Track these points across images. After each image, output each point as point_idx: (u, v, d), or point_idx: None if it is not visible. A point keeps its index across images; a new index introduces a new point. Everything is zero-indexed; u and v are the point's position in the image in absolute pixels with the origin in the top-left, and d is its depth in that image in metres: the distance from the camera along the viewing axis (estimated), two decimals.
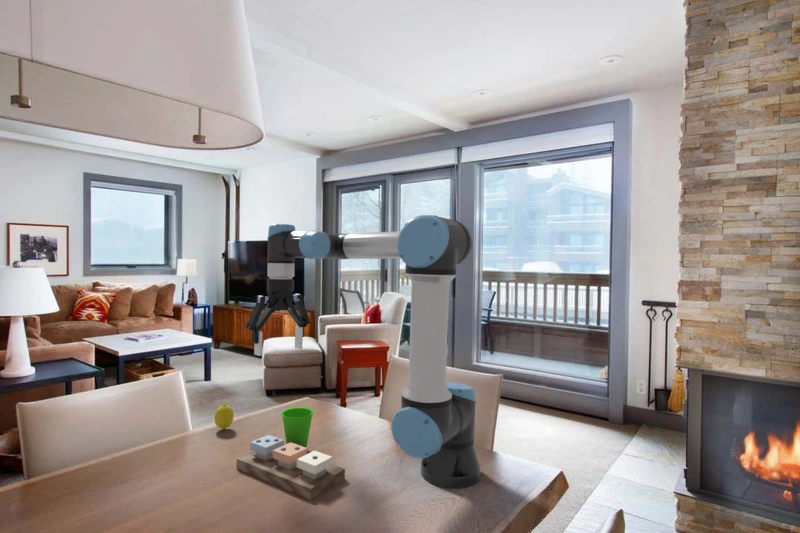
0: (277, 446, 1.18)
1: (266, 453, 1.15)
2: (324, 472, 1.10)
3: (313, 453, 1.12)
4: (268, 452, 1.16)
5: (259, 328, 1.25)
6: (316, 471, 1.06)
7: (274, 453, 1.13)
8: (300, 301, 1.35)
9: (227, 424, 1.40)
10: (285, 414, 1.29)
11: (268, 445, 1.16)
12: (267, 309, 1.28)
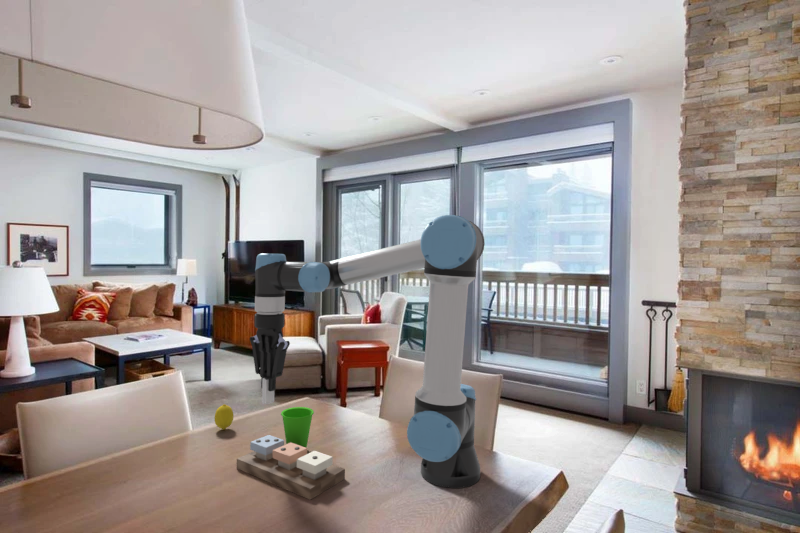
0: (277, 446, 1.18)
1: (266, 453, 1.15)
2: (324, 472, 1.10)
3: (313, 453, 1.12)
4: (268, 452, 1.16)
5: (261, 373, 1.19)
6: (316, 471, 1.06)
7: (274, 453, 1.13)
8: (278, 348, 1.15)
9: (227, 424, 1.40)
10: (285, 414, 1.29)
11: (268, 445, 1.16)
12: None
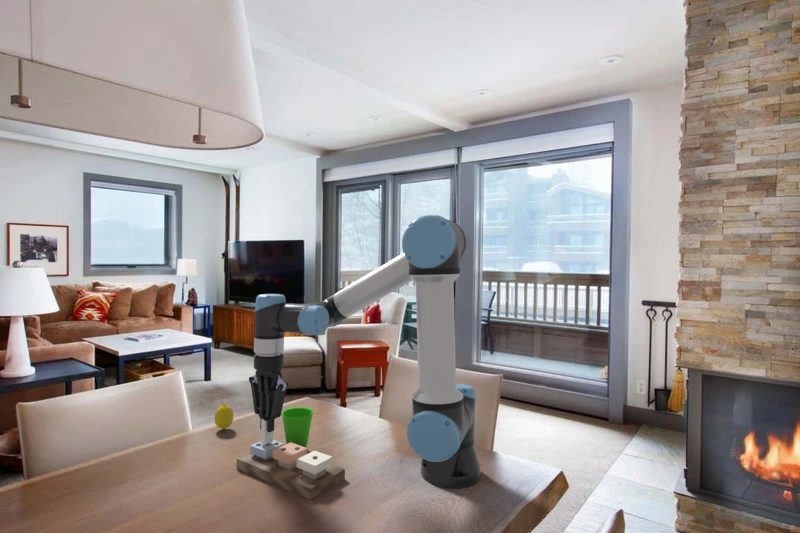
0: None
1: (266, 457, 1.15)
2: (324, 472, 1.10)
3: (313, 453, 1.12)
4: (268, 456, 1.16)
5: (260, 413, 1.19)
6: (316, 471, 1.06)
7: (274, 453, 1.13)
8: (277, 390, 1.15)
9: (227, 424, 1.40)
10: (285, 414, 1.29)
11: (268, 449, 1.16)
12: None
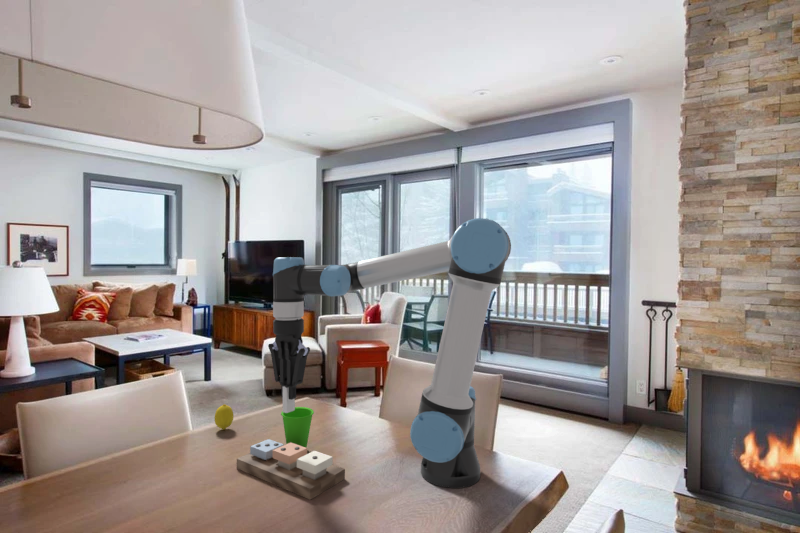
0: None
1: (266, 457, 1.15)
2: (324, 472, 1.10)
3: (313, 453, 1.12)
4: (268, 456, 1.16)
5: (281, 380, 1.15)
6: (316, 471, 1.06)
7: (274, 453, 1.13)
8: (298, 355, 1.11)
9: (227, 424, 1.40)
10: (285, 414, 1.29)
11: (268, 449, 1.16)
12: None
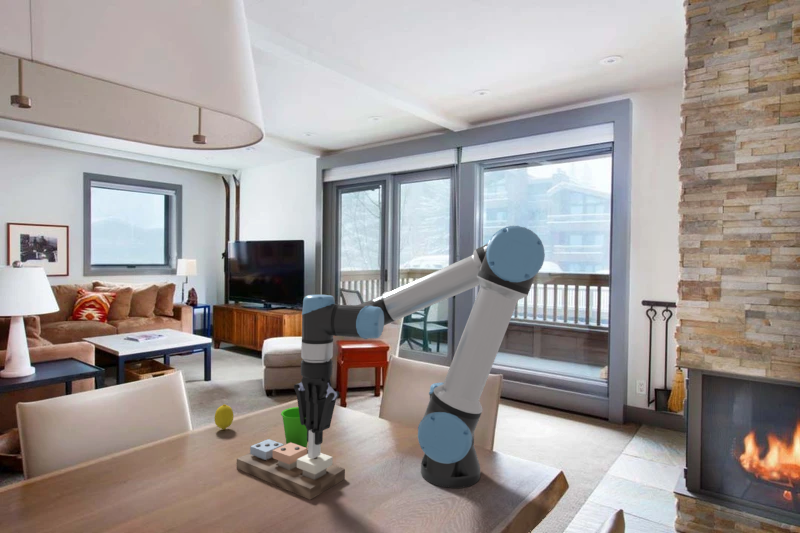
0: None
1: (266, 457, 1.15)
2: (324, 472, 1.10)
3: None
4: (268, 456, 1.16)
5: (307, 424, 1.09)
6: (316, 471, 1.06)
7: (274, 453, 1.13)
8: (327, 400, 1.06)
9: (227, 424, 1.40)
10: (285, 414, 1.29)
11: (268, 449, 1.16)
12: None
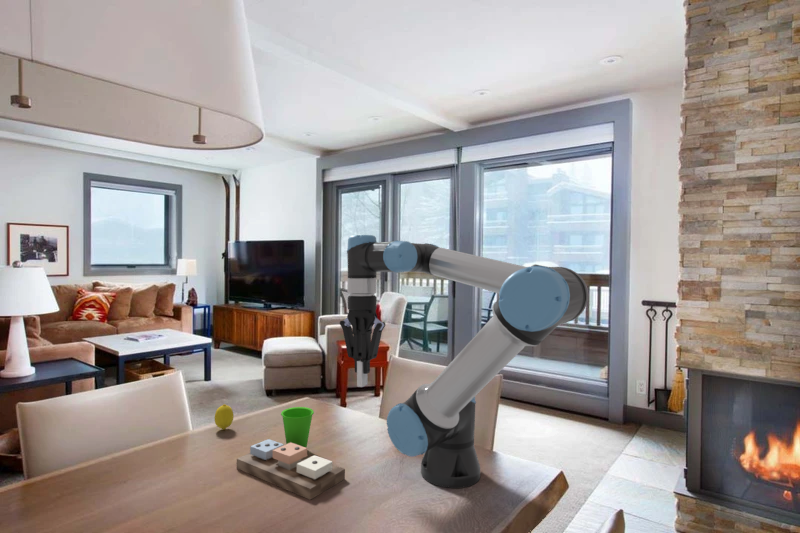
0: None
1: (266, 457, 1.15)
2: None
3: (313, 458, 1.12)
4: (268, 456, 1.16)
5: (355, 356, 1.18)
6: (316, 476, 1.06)
7: (274, 453, 1.13)
8: (375, 330, 1.15)
9: (227, 424, 1.40)
10: (285, 414, 1.29)
11: (268, 449, 1.16)
12: None
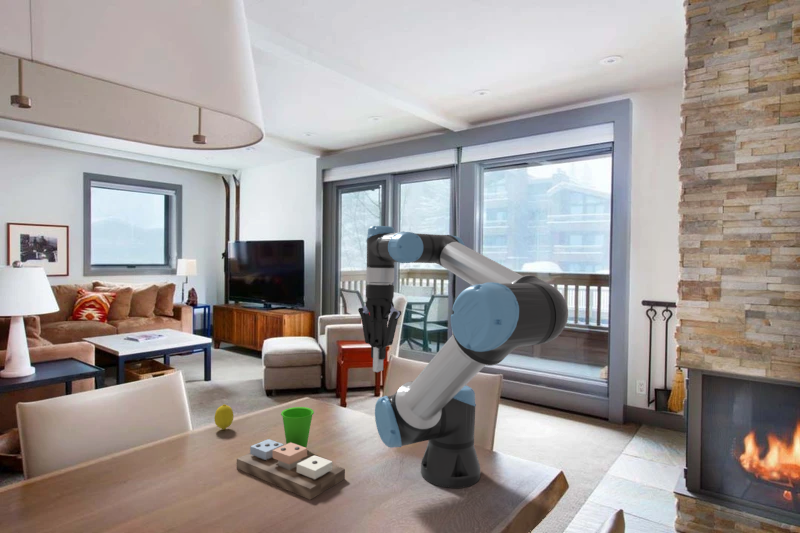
0: None
1: (266, 457, 1.15)
2: None
3: (313, 458, 1.12)
4: (268, 456, 1.16)
5: (372, 342, 1.23)
6: (316, 476, 1.06)
7: (274, 453, 1.13)
8: (391, 318, 1.19)
9: (227, 424, 1.40)
10: (285, 414, 1.29)
11: (268, 449, 1.16)
12: None
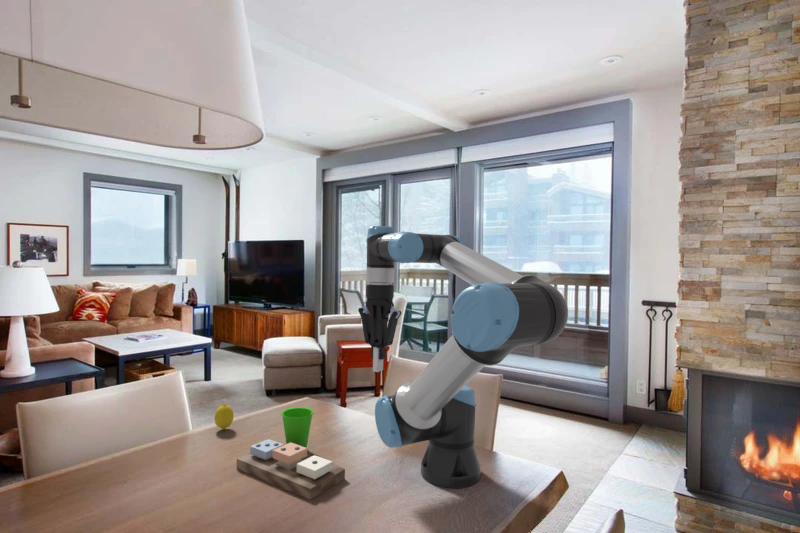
0: None
1: (266, 457, 1.15)
2: None
3: (313, 458, 1.12)
4: (268, 456, 1.16)
5: (372, 342, 1.23)
6: (316, 476, 1.06)
7: (274, 453, 1.13)
8: (391, 318, 1.19)
9: (227, 424, 1.40)
10: (285, 414, 1.29)
11: (268, 449, 1.16)
12: None
